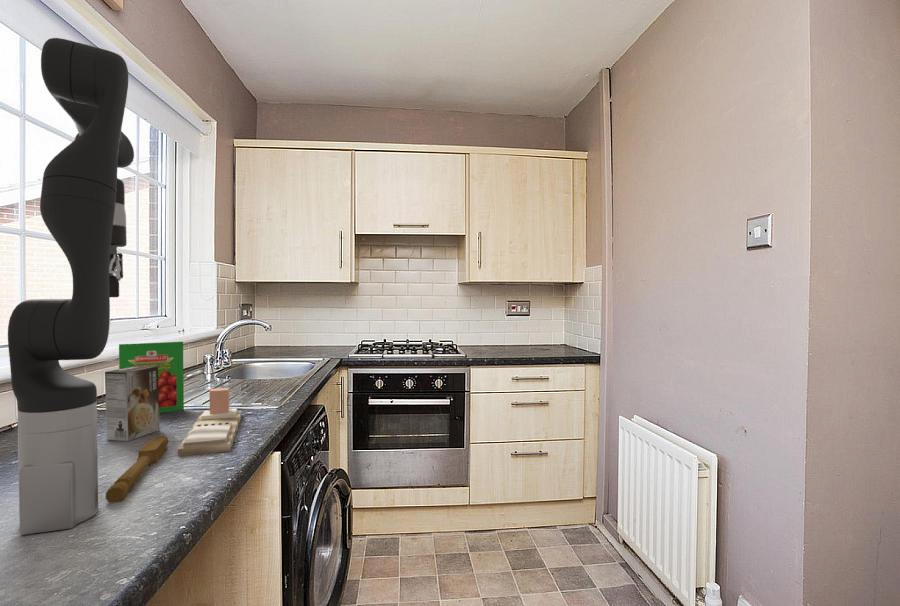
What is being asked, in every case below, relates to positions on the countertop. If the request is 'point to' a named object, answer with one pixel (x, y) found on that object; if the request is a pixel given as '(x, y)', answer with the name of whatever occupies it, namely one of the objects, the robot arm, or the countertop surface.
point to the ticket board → (210, 436)
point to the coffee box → (131, 402)
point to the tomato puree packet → (159, 369)
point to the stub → (219, 405)
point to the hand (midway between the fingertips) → (106, 297)
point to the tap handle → (137, 468)
